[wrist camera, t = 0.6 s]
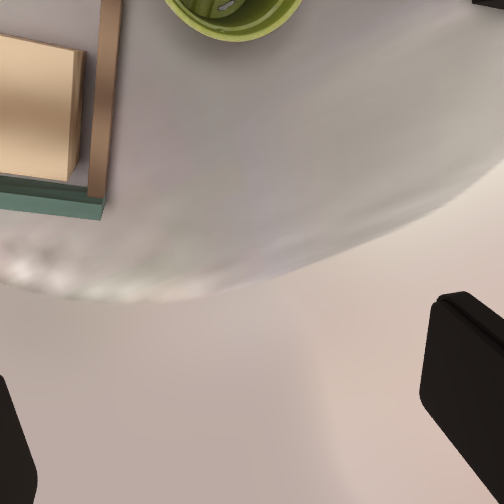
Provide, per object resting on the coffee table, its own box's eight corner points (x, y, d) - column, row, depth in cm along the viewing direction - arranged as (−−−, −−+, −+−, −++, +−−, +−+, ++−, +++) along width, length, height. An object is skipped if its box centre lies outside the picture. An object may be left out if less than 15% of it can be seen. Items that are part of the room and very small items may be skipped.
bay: (-86, -94, 27) (-143, -129, 22) (126, -36, 30) (122, -55, 25) (-70, 181, 33) (-112, 206, 28) (104, 204, 37) (97, 230, 31)
